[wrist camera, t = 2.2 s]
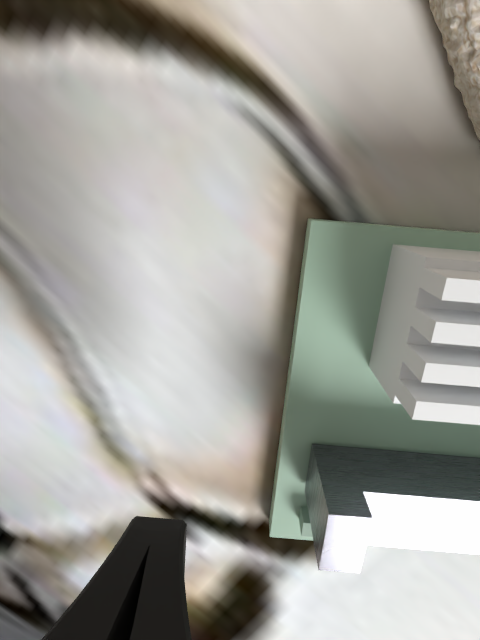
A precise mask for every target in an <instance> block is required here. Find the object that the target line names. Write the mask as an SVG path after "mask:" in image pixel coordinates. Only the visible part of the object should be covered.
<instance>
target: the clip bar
mask: <svg viewBox="0 0 480 640" xmlns="http://www.w3.org/2000/svg"><path fill="white" fill-rule="evenodd" d="M305 496H306V501H307V507H308V513H309V518H310V524H311V529H312V535H313V541H314V546H315V552H316V558H317V563H318V569H319V570H327V571H339V572H351V573H360V572H361V568H362V563H363V559H364V555H365V550H366V546H367V545H370V546H382V547H394V548H406V549H418V550H430V551H442V552H454V553H466V554H477V555H480V458H479V457H467V456H455V455H443V454H431V453H419V452H407V451H395V450H383V449H371V448H359V447H347V446H336V445H324V444H312V446H311V453H310V459H309V465H308V472H307V478H306V484H305Z"/></svg>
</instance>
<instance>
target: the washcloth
mask: <svg viewBox="0 0 480 640" xmlns="http://www.w3.org/2000/svg"><path fill="white" fill-rule="evenodd" d="M429 3H430V10H431V12H432V13H433V16H434V19H435V22H436V24H437V26H438V28H439V30H440V32H441V33H442V37H443V47H444V48H445V49H446V50H447V57H448V62H449V64H450V65H451V66H452V67H453V71H454V75H455V78H454V86H455V87H456V88H458V89H459V91H460V92H461V94H462V96H463V103H464V106H465V107H466V108H467V112H468V117H469V118H470V120H471V121H472V123H473V126H474V130H475V133H476V135H477V137H478V139H479V141H480V0H429Z"/></svg>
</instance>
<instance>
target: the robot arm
mask: <svg viewBox="0 0 480 640" xmlns="http://www.w3.org/2000/svg"><path fill="white" fill-rule="evenodd" d="M186 528H187V524H186V523H185V522H184V521H183V520H175V519H163V518H151V517H139V516H136V517H135V518H133V519H132V521H131V522H130V524H129V526H128V527H127V529H126V530H125V532H124V533H123V535H122V537H121V538H120V540H119V541H118V543H117V544H116V545H115V547H114V548H113V550H112V551H111V553H110V554H109V555H108V557H107V558H106V560H105V561H104V563H103V564H102V565H101V567H100V568H99V569H98V571H97V572H96V573H95V575H94V576H93V577H92V579H91V580H90V581H89V583H88V584H87V585H86V586H85V588H84V589H83V590H82V592H81V593H80V594H79V596H78V597H77V598H76V599H75V600H74V602H73V603H72V604H71V605H70V607H69V608H68V609H67V610H66V611H65V613H64V614H63V615H62V616H61V617H60V619H59V620H58V621H57V622H56V623H55V625H54V626H53V627H52V628H51V629H50V631H49V632H48V633H47V634H46V635H45V636H44V637H43V639H42V640H191V633H190V627H189V620H188V612H187V603H186V593H185V582H184V571H185V550H186Z"/></svg>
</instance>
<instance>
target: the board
mask: <svg viewBox="0 0 480 640" xmlns="http://www.w3.org/2000/svg"><path fill="white" fill-rule="evenodd" d="M312 444H324V445H336V446H347V447H359V448H371V449H383V450H395V451H407V452H419V453H431V454H443V455H455V456H467V457H479V458H480V233H478V232H466V231H454V230H442V229H430V228H418V227H406V226H394V225H382V224H370V223H358V222H346V221H334V220H322V219H310V218H308V221H307V229H306V237H305V245H304V252H303V260H302V268H301V276H300V283H299V291H298V299H297V307H296V315H295V322H294V330H293V338H292V346H291V353H290V361H289V369H288V377H287V385H286V392H285V400H284V408H283V416H282V423H281V431H280V439H279V447H278V455H277V462H276V470H275V478H274V486H273V493H272V501H271V509H270V517H269V530H270V537H278V538H290V539H302V540H313V535H312V529H311V524H310V518H309V513H308V507H307V501H306V496H305V484H306V478H307V472H308V465H309V459H310V453H311V446H312Z"/></svg>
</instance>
